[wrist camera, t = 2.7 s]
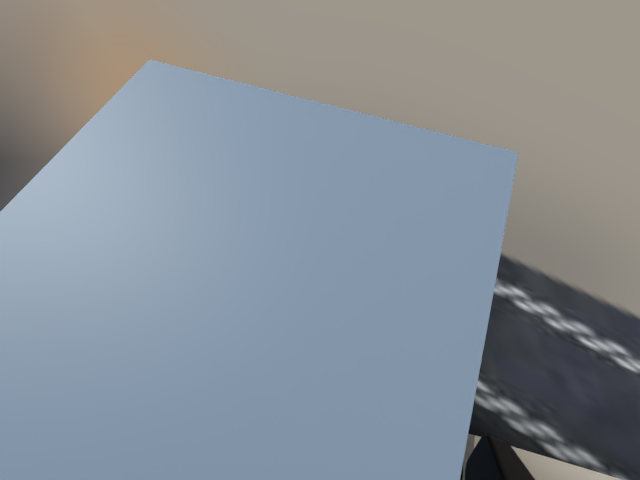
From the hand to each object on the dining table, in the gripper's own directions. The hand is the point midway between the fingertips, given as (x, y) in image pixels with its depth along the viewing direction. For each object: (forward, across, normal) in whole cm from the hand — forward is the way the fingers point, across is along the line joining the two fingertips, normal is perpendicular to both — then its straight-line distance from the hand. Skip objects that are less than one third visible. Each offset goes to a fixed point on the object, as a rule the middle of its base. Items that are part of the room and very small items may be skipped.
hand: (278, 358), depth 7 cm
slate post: (+6, 0, +6) cm, 8 cm away
